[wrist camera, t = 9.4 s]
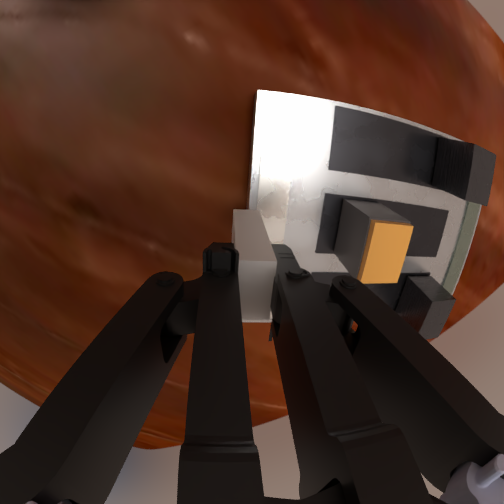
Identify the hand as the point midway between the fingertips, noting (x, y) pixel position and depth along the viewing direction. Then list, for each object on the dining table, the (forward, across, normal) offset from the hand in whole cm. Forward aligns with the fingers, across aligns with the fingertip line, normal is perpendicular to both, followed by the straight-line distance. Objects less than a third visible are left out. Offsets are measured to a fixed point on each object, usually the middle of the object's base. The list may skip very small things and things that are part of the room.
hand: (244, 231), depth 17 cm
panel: (+4, +11, 0) cm, 12 cm away
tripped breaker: (+2, +8, 0) cm, 8 cm away
